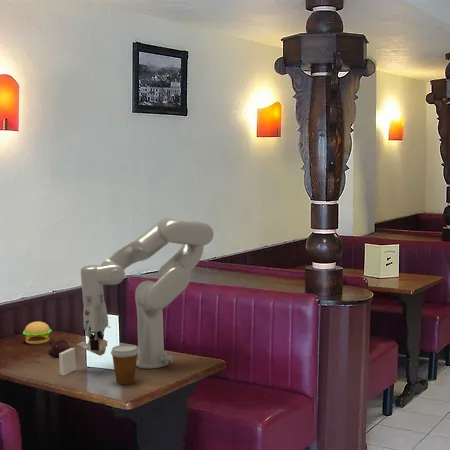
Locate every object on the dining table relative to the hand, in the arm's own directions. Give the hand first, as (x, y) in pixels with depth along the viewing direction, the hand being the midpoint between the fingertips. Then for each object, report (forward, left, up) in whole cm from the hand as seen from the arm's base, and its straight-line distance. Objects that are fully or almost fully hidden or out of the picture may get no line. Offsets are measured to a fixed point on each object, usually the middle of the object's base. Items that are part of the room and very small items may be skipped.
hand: (97, 348), depth 260 cm
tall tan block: (+3, 0, -1) cm, 3 cm away
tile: (+10, +4, -9) cm, 14 cm away
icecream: (+25, -14, -9) cm, 30 cm away
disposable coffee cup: (-16, +8, -9) cm, 20 cm away
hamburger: (+48, -31, -9) cm, 58 cm away
